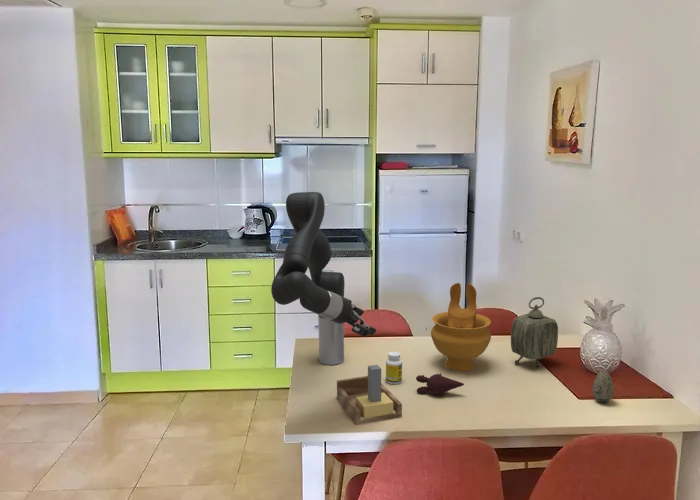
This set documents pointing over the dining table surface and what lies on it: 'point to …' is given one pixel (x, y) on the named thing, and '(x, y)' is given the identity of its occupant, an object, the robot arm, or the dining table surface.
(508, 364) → the dining table surface
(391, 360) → the supplement bottle
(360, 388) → the bay
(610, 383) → the decorative egg
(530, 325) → the tabletop clock
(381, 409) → the block with grey post
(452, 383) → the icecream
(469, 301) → the decorative bowl
